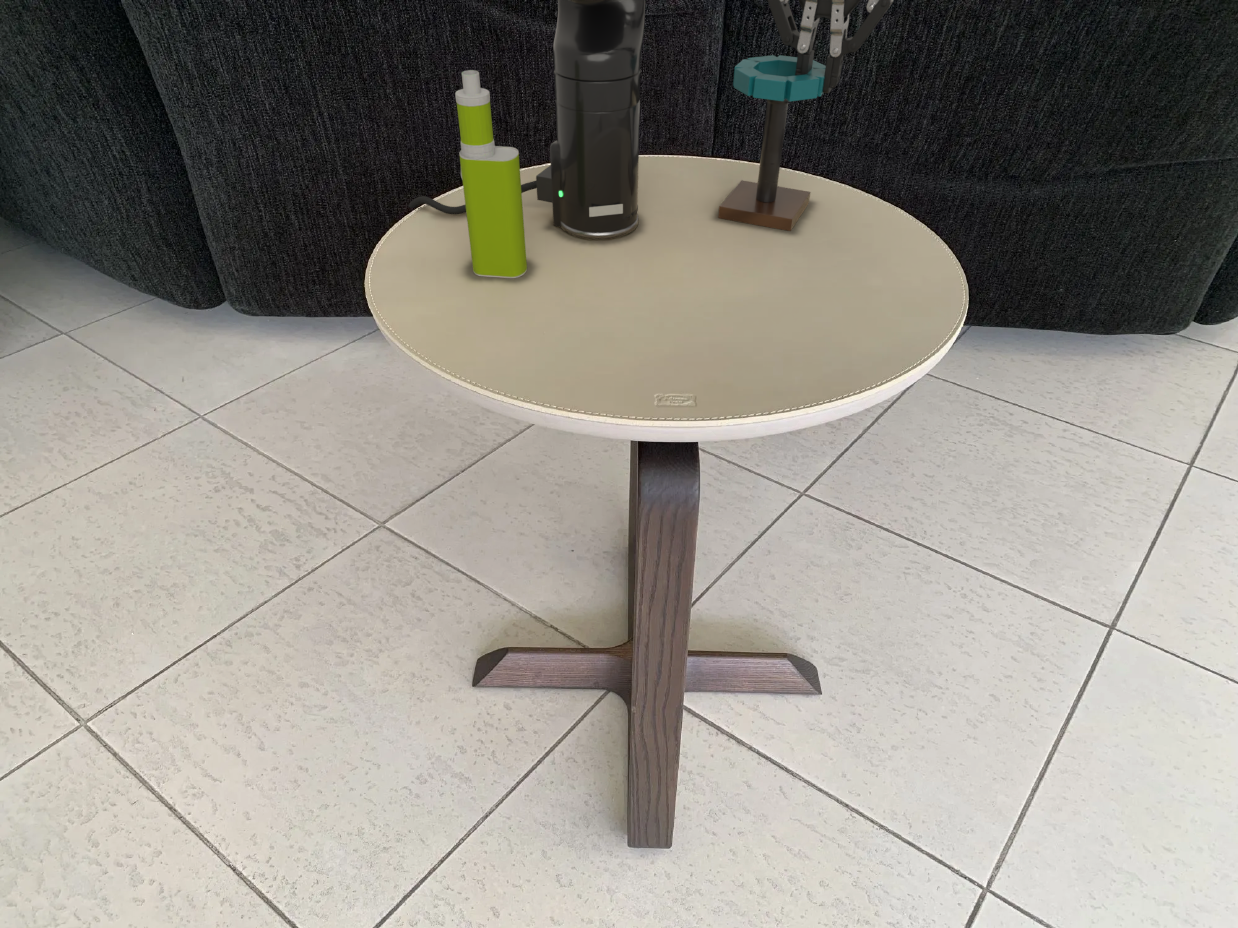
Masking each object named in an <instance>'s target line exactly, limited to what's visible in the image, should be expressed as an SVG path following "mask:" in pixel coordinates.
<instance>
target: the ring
mask: <svg viewBox="0 0 1238 928" xmlns="http://www.w3.org/2000/svg"><path fill="white" fill-rule="evenodd" d="M797 57H798V56H789V55H780V54H779V55H778V56H776V55H772V54H771V55H764V56H763V55H762V56H754V57H748V58H746V59H742V60H740V62H739V63H737V64H736V65H735V66H734V70H733V81H732V86H733V88H734V89H736V90H737V91H739V92H741V93H742V94H744V95H745V96H747V97H752V98H754V99H762V100H767V99H768V100H776V101H784V100H785V99H786V100H788V101H789V102H796V101H797V102H798V101H805V100H812V99H817V98H818V97H822V96H823V95H824V93H823V85H824V78H825V76H824V75H825V68H826V64H823V63H820V62H818V61H816V60H814V59H813V65H812V69H811V70H810V71H809V72H808V74H805V75H796V76H795V73H796V65H797Z"/></svg>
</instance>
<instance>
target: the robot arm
mask: <svg viewBox="0 0 1238 928" xmlns="http://www.w3.org/2000/svg"><path fill="white" fill-rule="evenodd" d="M790 1H791V0H767V4H768V6H769V9H770V12H771V14H772V17H773V20H774V23H775V26H776V29H777V31H778V34H779V37H780V39H781V42H782V44H783V46H790V47H792V48H794V49H795V51H796V52H797V56H796V57H797V65H796V73H795V76H796V75H805V74H808V72H809V71H810V70H811V69H812V65H813V60H814V57H815V52H816V51H815V49H813V47H814V43H815V38H816V34H817V29H818V26H819V23H820V19H821V18H824V19H827V20H829V21H830V27H829V28H830V29H829V31H830V42H829V55H828V56H827V57H826V62H825V66H826V68H825V75H824V76H825V78H824V85H823V94H830V93H831V92H832V89H835V88H836V87H837V85H838V84H839V82H840V80H841V74H842V67H843V61H844V56H845V55H846V54H850V53H856V52H858V51H859V49H860V48H861V47H862V46H863V44H864V43H865V42H866V40H867V39H868V38H869V36H870V35H871V34H872V32H873V30H874V29H875V28H876V27H877V25H878V24H879V23H880V21H881V20H882V18H883V17H884V15H885V14H886V13H887V11H888V10H889V9H890V7H891V6H892V4H893V3H894V2H895V0H867V1H868V2H867V4H866V10H867V12H868V13H869V14H868V15H867V16H866V18H865V19H864V21H863V22H862V23H861V25H860V26H859V28H858V29H857V31H856V32H855V33H854V35H853V36H851V37H848V29H849V23H850V14H851V13H852V12H853V11H854V10H855V8H856V7H857V6H858V5H859V4H860V3H861V1H862V0H797V1H798V3H799V5H800V7H801V9H802V11H803V12H802V17H801V23H800V31H799V30H798V27H797V25H796V22H795V19H794V16H793V13H792V10H791V8H790V3H789V2H790ZM557 9H558V10H557V20H556V21H557V22H556V27H555V28H556V29H555V35H554V39H553V44H552V59H553V60H552V61H553V79H554V81H553V82H554V103H555V129H556V140H554V141H553V142H552V143H551V144H550V146H549V160H550V161H549V162H550V165H549V166H548V167H545V168H544V169H543V170H542V171H541V172H540V173H538V174H537V175H536V176H535V180H532V181H529V182H525V183H523V184H522V183H521V193H522V194H523V193H525V192H528V191H532V190H535V189H536V199H537V201H542V202H546V203H551V205H552V220H553V226H554V227H558V228H561V229H562V230H563V231H564V232H565V233H567V234H569V235H571V236H574V237H577V238H582V239H587V240H610V239H615V238H620V237H623V236H626V235H628V234H630V233H632V232H634V231H635V230H636V229H637V227H638V225H639V214H638V213H639V203H638V202H639V167H640V166H639V165H640V163H639V160H640V154H639V153H640V114H641V112H640V111H641V108H640V107H641V68H642V67H641V66H642V65H641V64H642V48H643V43H644V42H643V41H644V33H645V23H646V21H645V20H646V19H645V18H646V0H557ZM421 205H427V206H429V207H431V208H433V209H434V210H436V211H439V212H441V213H444V214H447V215H462V214H465V213H466V205H465V204H463V205H459V206H449V205H446V204H443V203H441V202H440V201H437V200H435V199H433V198H431V197H429V196H426V195H421V196H417V197H415V198H413V199H412V200H411V201H410V203H409V204H408V205H407V206H408V208H410V209H415V208H418V207H419V206H421Z"/></svg>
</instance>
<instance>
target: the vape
mask: <svg viewBox="0 0 1238 928" xmlns="http://www.w3.org/2000/svg"><path fill="white" fill-rule="evenodd" d="M461 79H462V80H461V81H462V88H461V89H458V90H457V91H455V92H454V93H455V96H454V97H455V102H456V110H457V117H458V127H459V135H460V149H461V150H460V151H459V152H458V153H459V154H458V155H459V163H460V177H461V180H462V188H463V196H464V205H466V212H465V213H466V222H467V229H468V238H469V247H470V255H471V264H472V271H473V274H474V275H476V276H479V277H488V278H501V279H502V278H505V279H517V278H520V277H522V276H524V275H525V274H526V273H527V270H528V264H527V249H526V248H527V247H526V236H525V223H524V222H525V221H524V220H525V219H524V209H523V196H522V195H523V193H521V185H522V180H521V179H522V178H521V167H520V153H519V149H517V148H516V147H513V146H497V145H495V139H494V133H493V131H494V130H493V119H492V109H491V95H490V91H489V89H486V88H483V87H481V81H480V80H481V78H480V72H479V71H478V70H475V69H474V70H473V69H468V70H464V71H462V72H461Z"/></svg>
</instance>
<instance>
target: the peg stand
mask: <svg viewBox="0 0 1238 928" xmlns="http://www.w3.org/2000/svg"><path fill="white" fill-rule="evenodd" d="M789 102H790V101H788V100H786V99H785V100H784V101H776V100H768V99H766V108H765V114H764V115H765V117H764V125H763V134H762V142H761V150H760V158H759V159H760V160H759V166H758V167H759V169H758V177H757V182H754V181H748V180H743V179H741V180H740V181H739V183H737V185H736V186H735V187H734V188H733V190H732V191H731V192H730V193H729V194H728V195H727V197H725V199H724V200H723V201H722V203H720V205H719V206H718V216H717V218H718V219H722V220H727V221H732V222H737V223H744V224H749V225H755V226H759V227H765V228H772V229H777V230H781V231H787V232H792V230H793V228H794V227H795V225H796V224H797V222H798V220H799V219H800V218H801V216H802V214H803V213H804V211H805V210H806V209H807V207H808V205H809V203H810V198H811V191H809V190H803V189H796V188H791V187H785V186H778V185H779V178H780V169H781V162H782V154H783V148H784V147H783V145H784V138H785V132H786V131H785V130H786V125H787V124H786V123H787V117H788V109H789Z"/></svg>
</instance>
